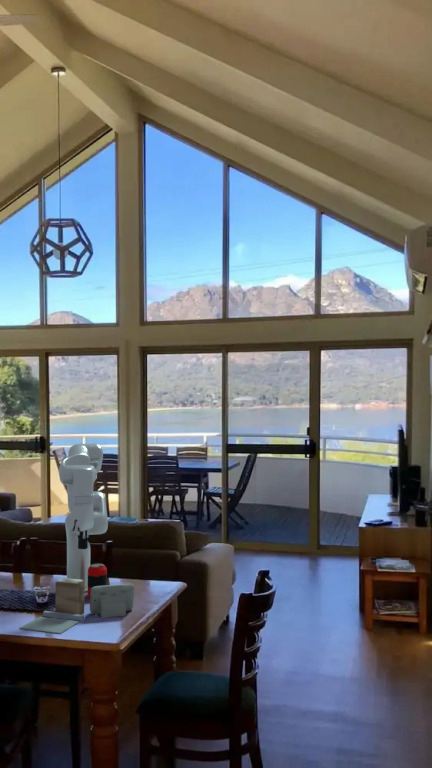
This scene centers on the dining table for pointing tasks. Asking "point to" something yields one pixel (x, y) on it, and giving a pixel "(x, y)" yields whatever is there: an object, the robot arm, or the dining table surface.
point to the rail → (63, 615)
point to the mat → (49, 625)
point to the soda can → (96, 576)
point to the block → (70, 596)
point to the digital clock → (112, 599)
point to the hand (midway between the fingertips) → (82, 548)
